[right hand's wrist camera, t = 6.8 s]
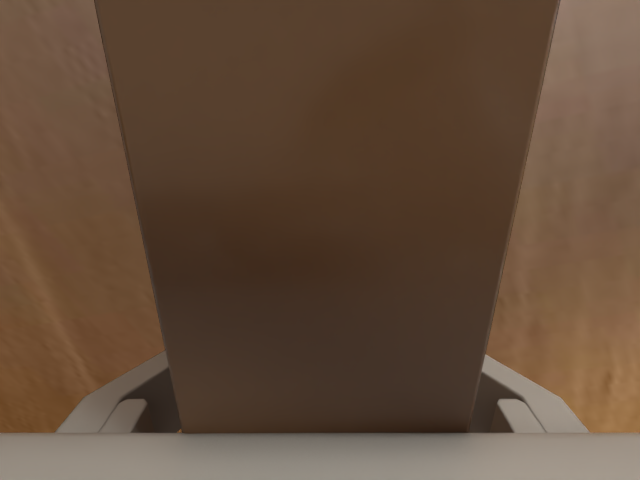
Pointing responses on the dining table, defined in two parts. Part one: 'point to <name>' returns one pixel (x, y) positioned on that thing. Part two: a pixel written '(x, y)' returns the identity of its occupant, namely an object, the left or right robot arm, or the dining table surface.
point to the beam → (326, 199)
